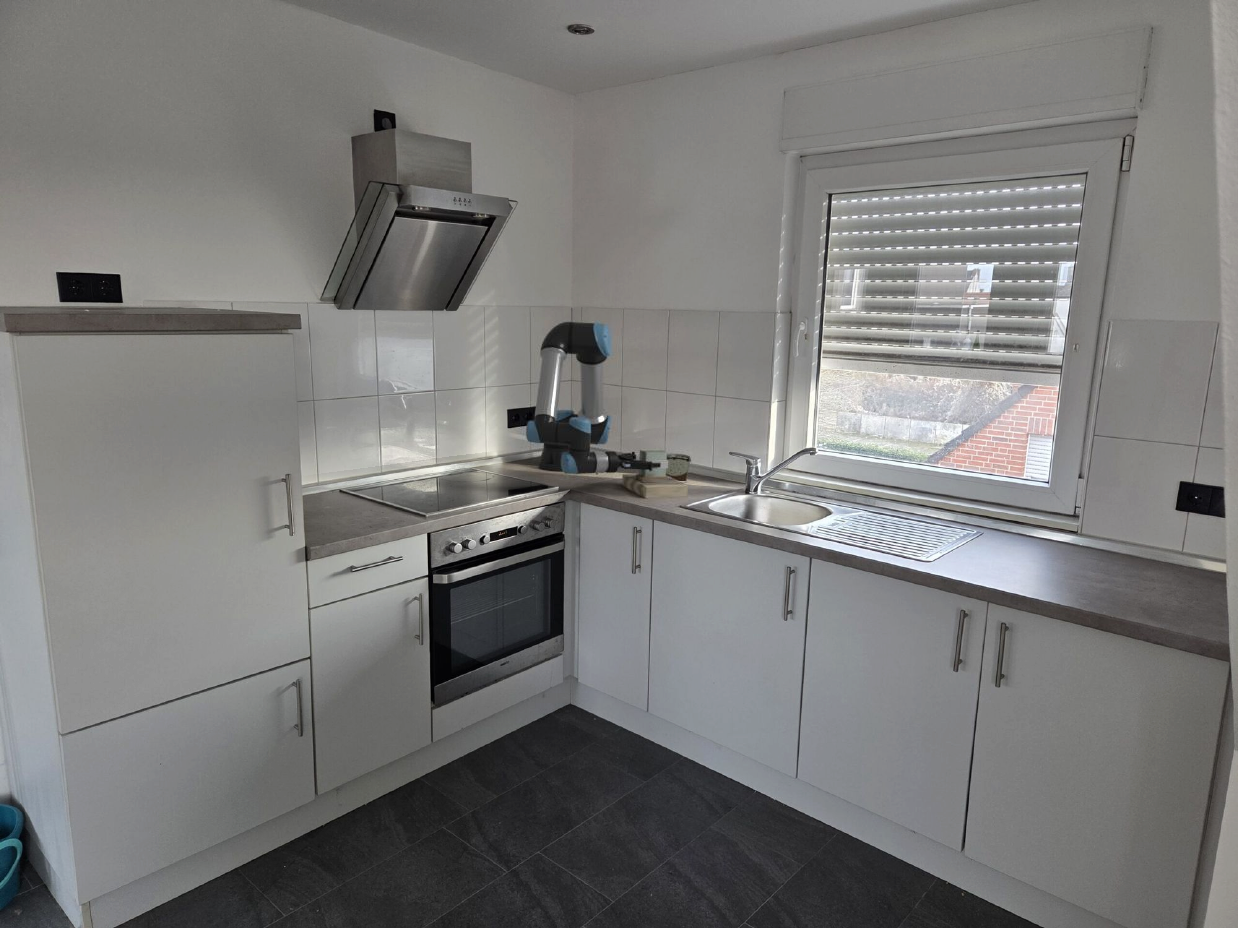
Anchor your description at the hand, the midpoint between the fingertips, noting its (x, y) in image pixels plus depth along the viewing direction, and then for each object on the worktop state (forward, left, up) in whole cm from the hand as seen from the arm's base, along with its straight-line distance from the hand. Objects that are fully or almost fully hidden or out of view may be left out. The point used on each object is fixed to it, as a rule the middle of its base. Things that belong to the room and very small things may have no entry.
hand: (659, 460), depth 294 cm
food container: (-16, +14, -11) cm, 24 cm away
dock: (0, -2, -11) cm, 11 cm away
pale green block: (0, -3, -7) cm, 7 cm away
